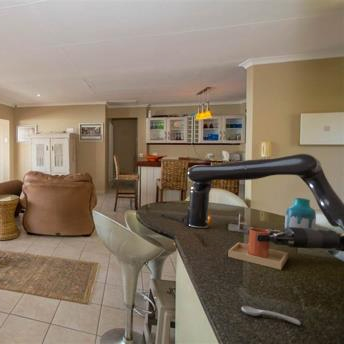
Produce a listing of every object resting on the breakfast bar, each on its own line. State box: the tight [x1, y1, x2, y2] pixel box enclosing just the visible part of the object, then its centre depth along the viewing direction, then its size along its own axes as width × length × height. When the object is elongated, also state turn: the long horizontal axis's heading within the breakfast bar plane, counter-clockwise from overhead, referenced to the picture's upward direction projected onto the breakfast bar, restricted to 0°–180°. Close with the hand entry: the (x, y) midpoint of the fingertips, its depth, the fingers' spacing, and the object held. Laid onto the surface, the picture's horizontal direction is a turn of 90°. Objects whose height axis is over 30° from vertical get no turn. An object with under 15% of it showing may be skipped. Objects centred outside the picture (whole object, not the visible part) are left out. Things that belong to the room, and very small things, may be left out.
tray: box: [227, 242, 289, 271], centre depth 112 cm, size 16×14×3 cm
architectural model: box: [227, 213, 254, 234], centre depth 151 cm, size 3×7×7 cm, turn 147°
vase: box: [284, 197, 317, 229], centre depth 134 cm, size 11×11×19 cm
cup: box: [247, 227, 271, 259], centre depth 112 cm, size 6×6×10 cm
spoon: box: [241, 305, 302, 326], centre depth 73 cm, size 3×12×2 cm, turn 65°
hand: (252, 235), depth 112 cm, fingers closed on cup, 6 cm apart
